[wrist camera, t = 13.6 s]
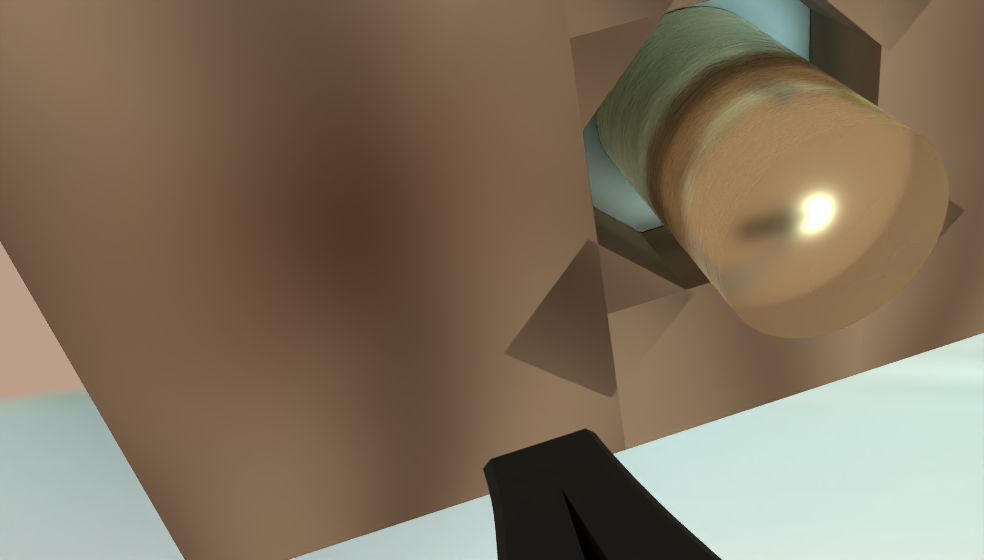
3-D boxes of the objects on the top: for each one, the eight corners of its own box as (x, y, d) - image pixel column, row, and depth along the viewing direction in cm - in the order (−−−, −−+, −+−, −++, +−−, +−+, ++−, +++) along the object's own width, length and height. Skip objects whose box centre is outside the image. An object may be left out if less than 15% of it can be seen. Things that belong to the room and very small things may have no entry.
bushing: (608, 204, 21) (728, 366, 16) (583, 38, 18) (713, 168, 13) (772, 153, 21) (938, 296, 16) (767, -17, 19) (959, 90, 14)
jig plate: (202, 506, 22) (201, 587, 20) (-116, -90, 14) (-172, -55, 12) (943, 272, 24) (1009, 324, 22) (1020, -359, 16) (1134, -367, 14)
